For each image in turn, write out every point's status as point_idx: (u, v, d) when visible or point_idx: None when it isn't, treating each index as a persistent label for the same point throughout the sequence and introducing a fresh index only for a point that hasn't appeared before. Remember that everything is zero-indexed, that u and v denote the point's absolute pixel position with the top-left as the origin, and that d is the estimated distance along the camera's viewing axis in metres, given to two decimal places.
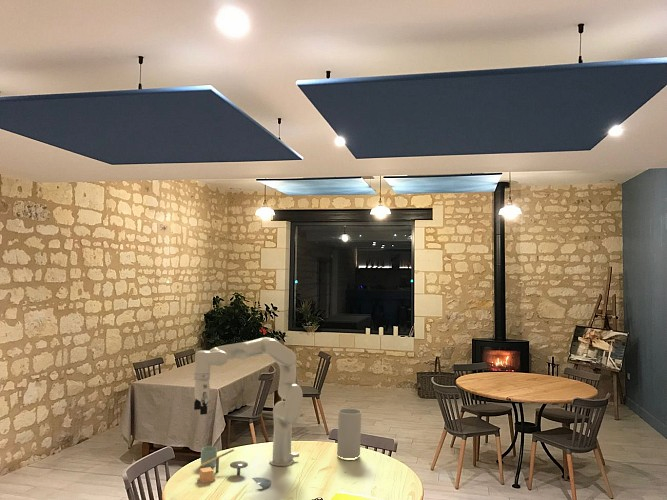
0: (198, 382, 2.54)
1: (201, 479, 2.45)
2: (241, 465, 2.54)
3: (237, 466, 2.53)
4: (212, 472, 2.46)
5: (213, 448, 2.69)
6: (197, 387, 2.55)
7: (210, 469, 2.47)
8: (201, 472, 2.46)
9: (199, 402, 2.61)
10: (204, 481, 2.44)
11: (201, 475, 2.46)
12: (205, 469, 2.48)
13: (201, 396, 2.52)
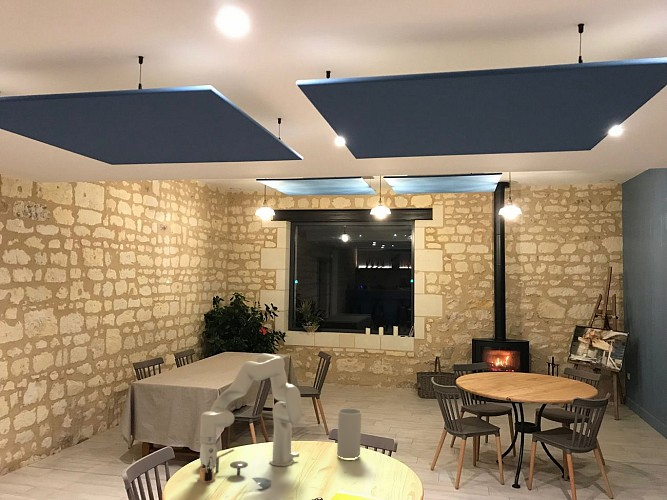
0: (204, 446, 2.45)
1: (201, 480, 2.45)
2: (241, 465, 2.54)
3: (237, 466, 2.53)
4: (212, 472, 2.46)
5: None
6: (203, 451, 2.46)
7: None
8: (201, 472, 2.46)
9: None
10: (204, 481, 2.44)
11: (201, 475, 2.46)
12: (205, 469, 2.48)
13: (207, 463, 2.43)
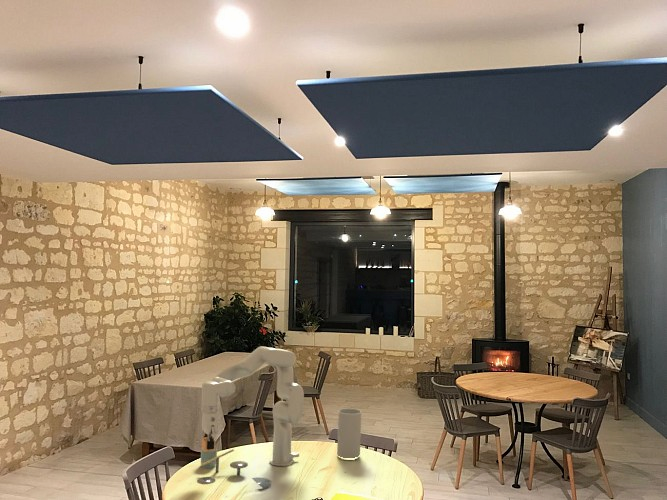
0: (205, 415, 2.46)
1: (203, 448, 2.46)
2: (241, 465, 2.54)
3: (237, 466, 2.53)
4: (214, 441, 2.47)
5: None
6: (205, 420, 2.46)
7: None
8: (203, 441, 2.47)
9: None
10: (206, 450, 2.45)
11: (203, 444, 2.47)
12: (207, 438, 2.49)
13: (209, 432, 2.44)
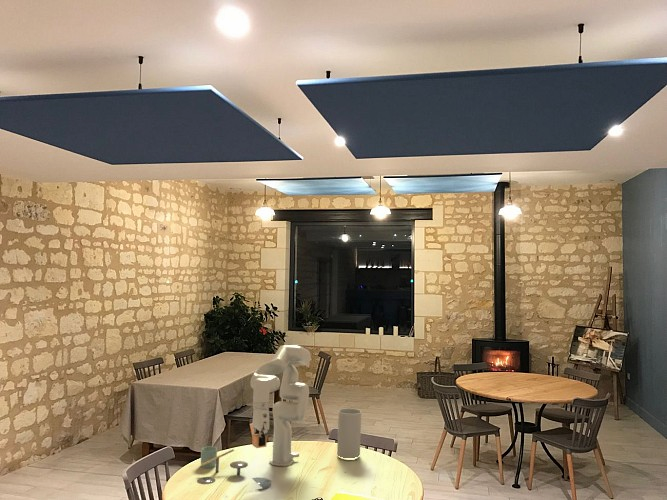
0: (257, 411, 2.47)
1: (255, 445, 2.47)
2: (241, 465, 2.54)
3: (237, 466, 2.53)
4: None
5: (213, 448, 2.69)
6: (256, 416, 2.47)
7: None
8: (254, 437, 2.48)
9: None
10: (258, 446, 2.46)
11: (254, 440, 2.47)
12: (258, 434, 2.49)
13: (261, 428, 2.45)
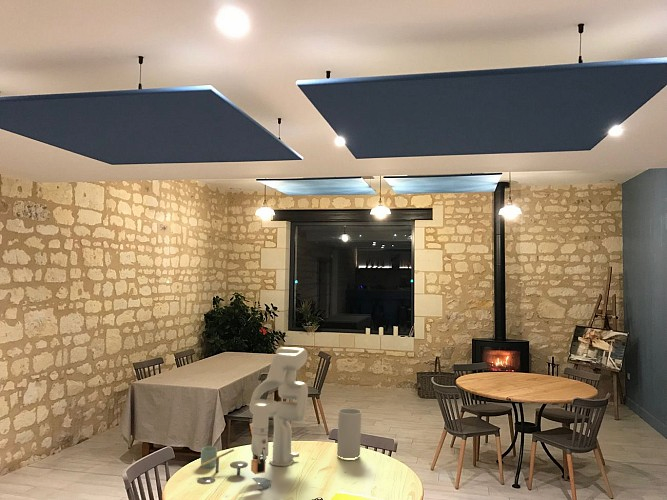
0: (256, 437, 2.46)
1: (253, 470, 2.46)
2: (241, 465, 2.54)
3: (237, 466, 2.53)
4: (264, 463, 2.47)
5: (213, 448, 2.69)
6: (255, 442, 2.47)
7: None
8: (253, 463, 2.47)
9: None
10: (256, 472, 2.45)
11: (253, 466, 2.47)
12: (257, 460, 2.48)
13: (260, 454, 2.44)
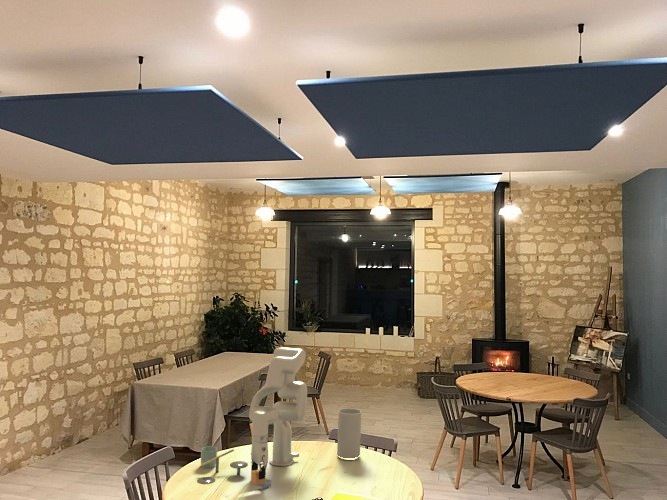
0: (256, 445, 2.46)
1: (253, 481, 2.46)
2: (241, 465, 2.54)
3: (237, 466, 2.53)
4: None
5: (213, 448, 2.69)
6: (255, 450, 2.46)
7: None
8: (253, 474, 2.47)
9: (256, 465, 2.52)
10: (256, 483, 2.45)
11: (253, 477, 2.47)
12: (257, 471, 2.48)
13: (260, 460, 2.44)
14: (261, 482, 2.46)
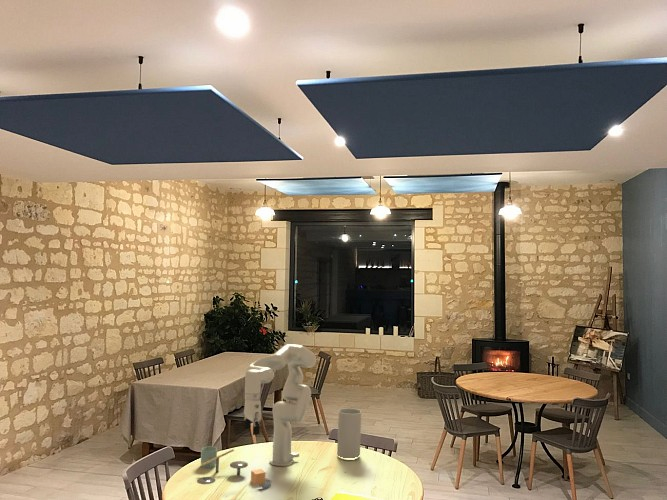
0: (249, 402, 2.51)
1: (253, 481, 2.46)
2: (241, 465, 2.54)
3: (237, 466, 2.53)
4: (264, 474, 2.47)
5: (213, 448, 2.69)
6: (248, 407, 2.52)
7: (262, 471, 2.48)
8: (253, 474, 2.47)
9: (249, 421, 2.58)
10: (256, 483, 2.45)
11: (253, 477, 2.47)
12: (257, 471, 2.48)
13: (253, 416, 2.49)
14: (261, 482, 2.46)
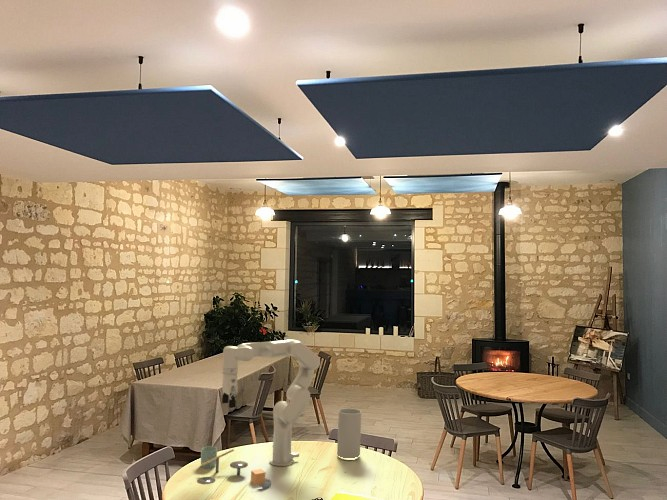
0: (226, 376, 2.64)
1: (253, 481, 2.46)
2: (241, 465, 2.54)
3: (237, 466, 2.53)
4: (264, 474, 2.47)
5: (213, 448, 2.69)
6: (225, 381, 2.65)
7: (262, 471, 2.48)
8: (253, 474, 2.47)
9: (227, 396, 2.71)
10: (256, 483, 2.45)
11: (253, 477, 2.47)
12: (257, 471, 2.48)
13: (230, 390, 2.62)
14: (261, 482, 2.46)
